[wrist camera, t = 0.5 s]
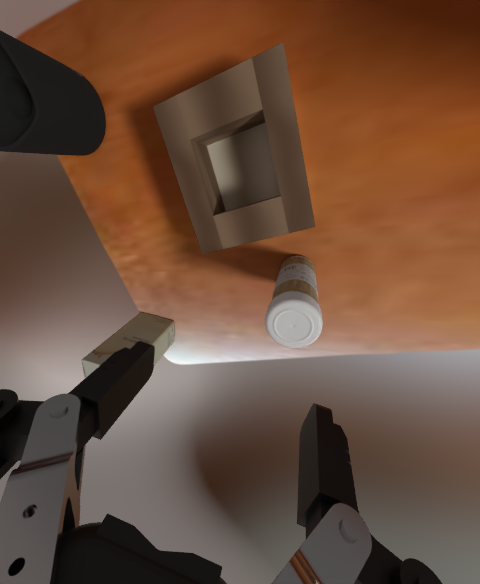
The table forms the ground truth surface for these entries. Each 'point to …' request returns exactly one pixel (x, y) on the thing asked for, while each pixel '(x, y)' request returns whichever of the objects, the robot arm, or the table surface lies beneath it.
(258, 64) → the socket block
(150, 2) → the table surface
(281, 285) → the sprinkles bottle
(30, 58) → the pen holder
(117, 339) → the skincare box
